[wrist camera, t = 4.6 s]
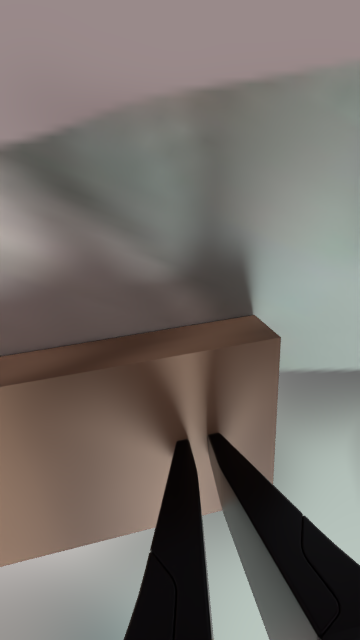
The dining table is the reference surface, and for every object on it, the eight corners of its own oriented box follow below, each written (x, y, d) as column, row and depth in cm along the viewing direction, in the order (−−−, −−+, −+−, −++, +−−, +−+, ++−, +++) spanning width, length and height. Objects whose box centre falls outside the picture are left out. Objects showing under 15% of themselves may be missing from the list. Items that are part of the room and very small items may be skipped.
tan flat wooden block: (254, 314, 10) (280, 337, 8) (252, 459, 12) (271, 497, 11) (-133, 378, 8) (-198, 422, 7) (-37, 526, 11) (-66, 583, 9)
